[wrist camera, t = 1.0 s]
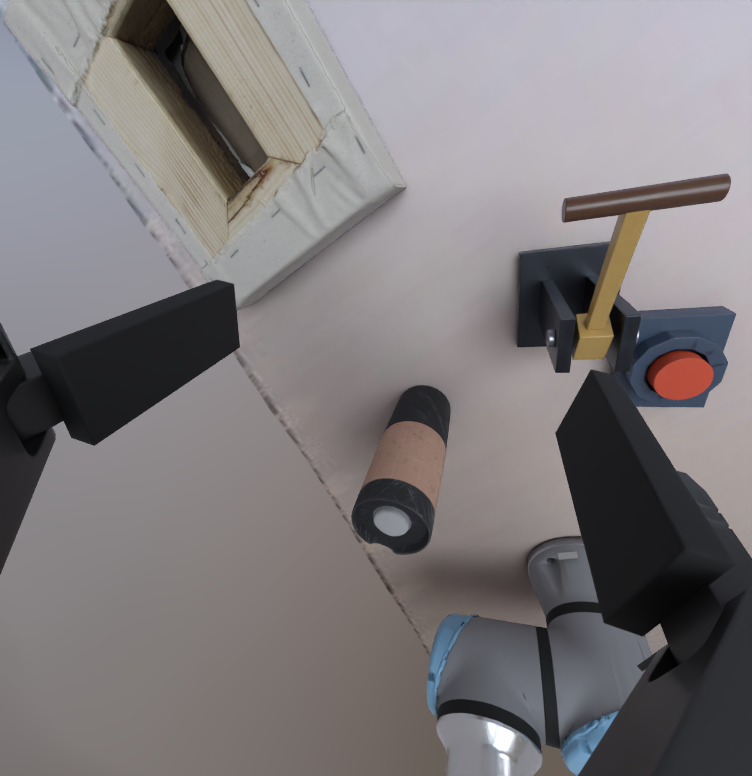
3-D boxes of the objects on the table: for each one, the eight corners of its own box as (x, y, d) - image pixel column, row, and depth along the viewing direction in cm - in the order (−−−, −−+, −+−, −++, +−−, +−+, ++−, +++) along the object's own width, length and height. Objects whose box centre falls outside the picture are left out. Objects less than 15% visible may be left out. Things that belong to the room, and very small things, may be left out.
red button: (696, 391, 34) (705, 400, 32) (642, 390, 35) (649, 400, 34) (710, 349, 32) (720, 357, 30) (652, 351, 33) (659, 358, 32)
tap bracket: (520, 251, 35) (532, 283, 24) (624, 239, 32) (689, 269, 22) (516, 343, 40) (526, 402, 29) (607, 339, 37) (654, 404, 26)
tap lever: (562, 187, 19) (567, 213, 18) (721, 161, 17) (739, 188, 16) (537, 338, 30) (539, 360, 29) (633, 334, 28) (640, 358, 26)
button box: (693, 396, 37) (713, 417, 34) (607, 395, 40) (618, 415, 37) (722, 306, 33) (749, 320, 29) (623, 311, 35) (637, 325, 32)
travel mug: (435, 374, 45) (403, 489, 28) (462, 419, 47) (447, 550, 30) (387, 395, 48) (333, 507, 32) (414, 436, 51) (378, 560, 34)
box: (415, 183, 35) (185, -235, 25) (397, 186, 28) (82, -371, 19) (269, 298, 46) (75, 42, 37) (233, 318, 40) (-12, 15, 31)
